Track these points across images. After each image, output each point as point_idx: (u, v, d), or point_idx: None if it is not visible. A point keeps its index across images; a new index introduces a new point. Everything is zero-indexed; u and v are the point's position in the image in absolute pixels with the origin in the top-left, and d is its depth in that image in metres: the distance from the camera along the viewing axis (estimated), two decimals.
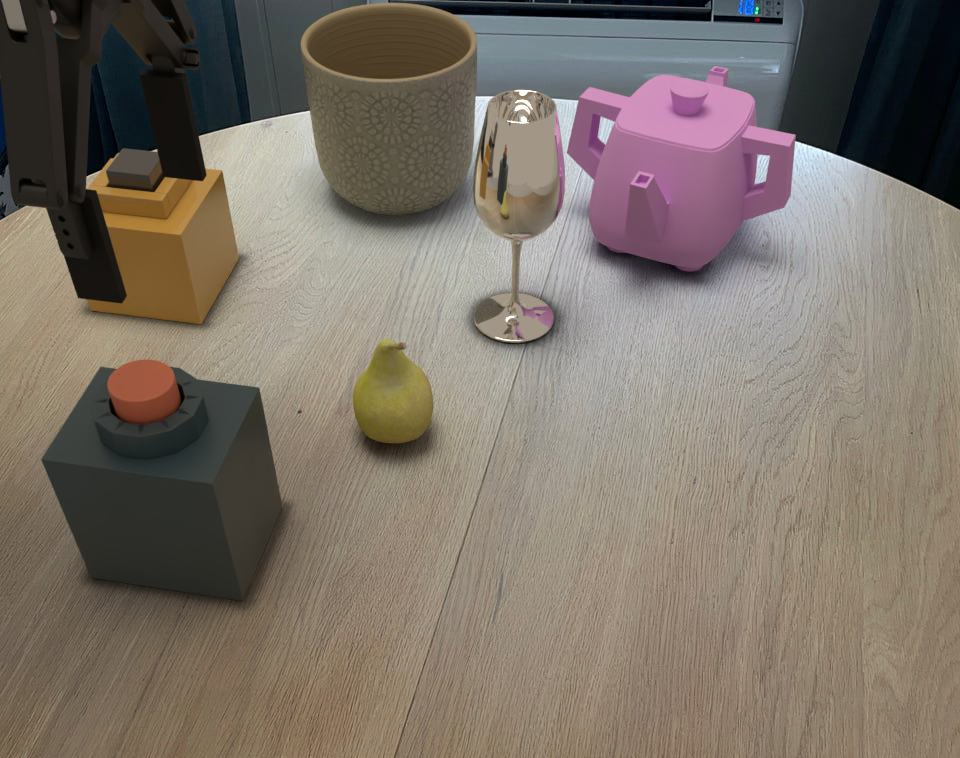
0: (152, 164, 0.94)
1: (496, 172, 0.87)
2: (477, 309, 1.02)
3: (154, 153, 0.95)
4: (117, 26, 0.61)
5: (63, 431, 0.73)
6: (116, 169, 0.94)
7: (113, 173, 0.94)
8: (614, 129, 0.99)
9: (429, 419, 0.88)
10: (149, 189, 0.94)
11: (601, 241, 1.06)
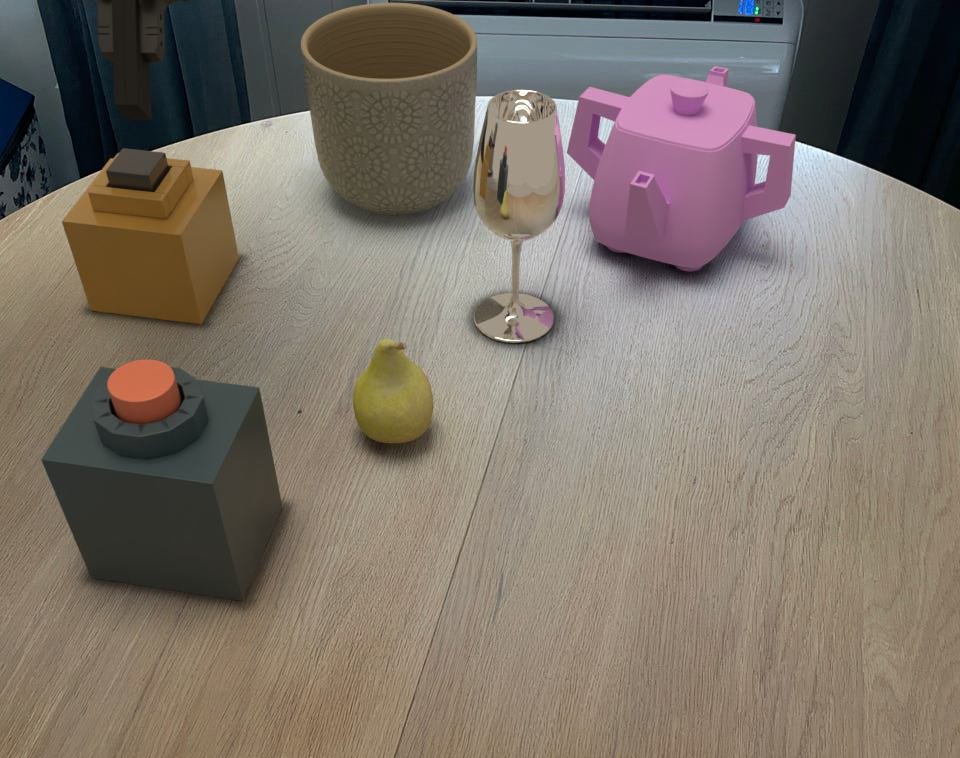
0: (152, 164, 0.94)
1: (496, 172, 0.87)
2: (477, 309, 1.02)
3: (154, 153, 0.95)
4: None
5: (63, 431, 0.73)
6: (116, 169, 0.94)
7: (113, 173, 0.94)
8: (614, 129, 0.99)
9: (429, 419, 0.88)
10: (149, 189, 0.94)
11: (601, 241, 1.06)
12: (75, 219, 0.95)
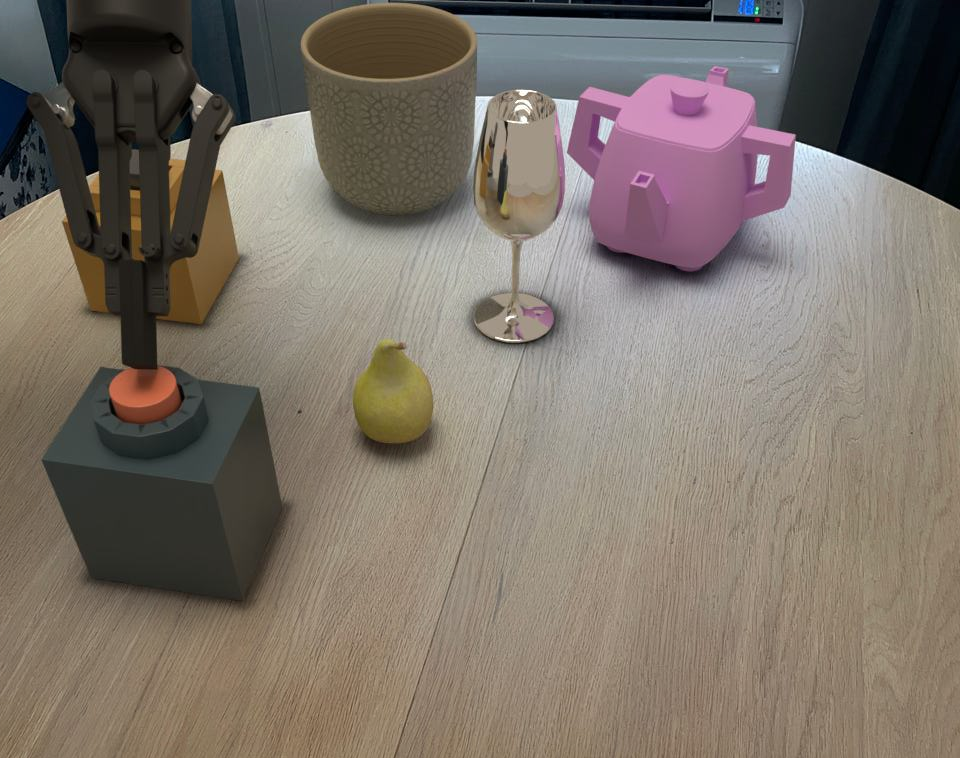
0: None
1: (496, 172, 0.87)
2: (477, 309, 1.02)
3: None
4: (119, 180, 0.68)
5: (63, 431, 0.73)
6: None
7: None
8: (614, 129, 0.99)
9: (429, 419, 0.88)
10: None
11: (601, 241, 1.06)
12: None
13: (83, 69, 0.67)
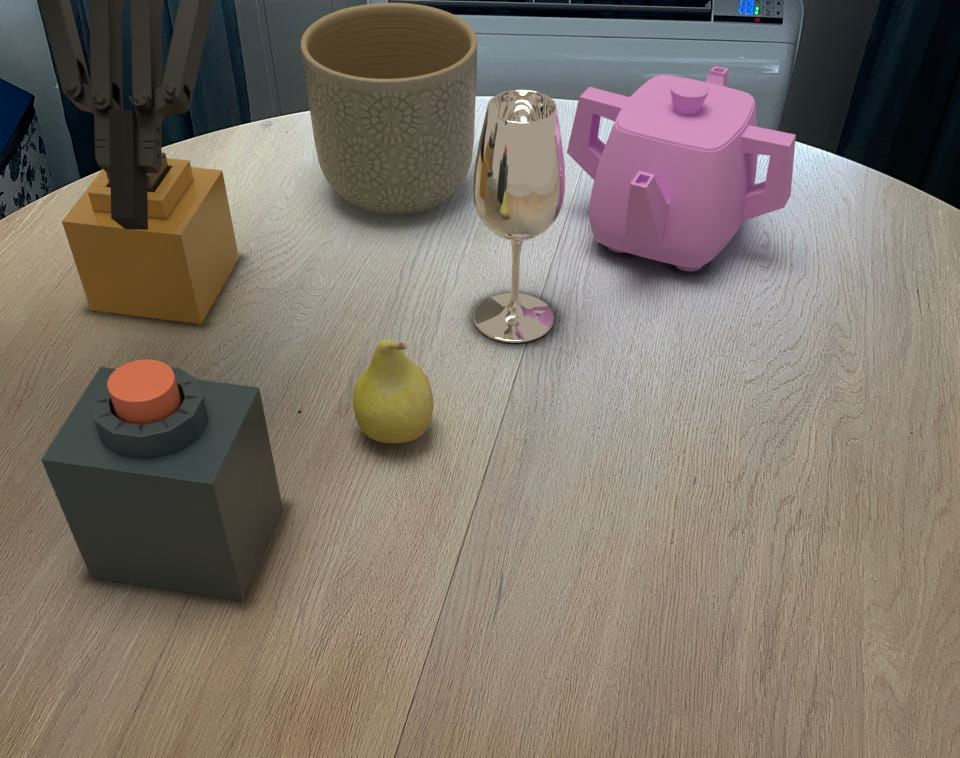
0: None
1: (496, 172, 0.87)
2: (477, 309, 1.02)
3: None
4: (109, 27, 0.67)
5: (63, 431, 0.73)
6: None
7: None
8: (614, 129, 0.99)
9: (429, 419, 0.88)
10: (149, 189, 0.94)
11: (601, 241, 1.06)
12: (75, 219, 0.95)
13: None
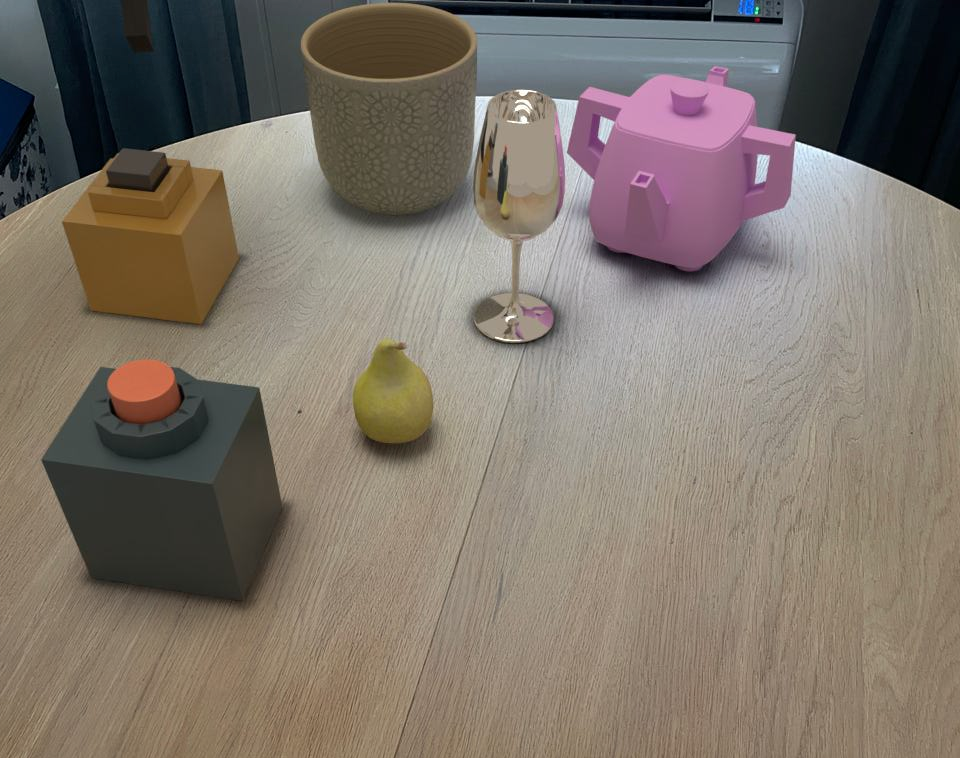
0: (152, 164, 0.94)
1: (496, 172, 0.87)
2: (477, 309, 1.02)
3: (154, 153, 0.95)
4: None
5: (63, 431, 0.73)
6: (116, 169, 0.94)
7: (113, 173, 0.94)
8: (614, 129, 0.99)
9: (429, 419, 0.88)
10: (149, 189, 0.94)
11: (601, 241, 1.06)
12: (75, 219, 0.95)
13: None
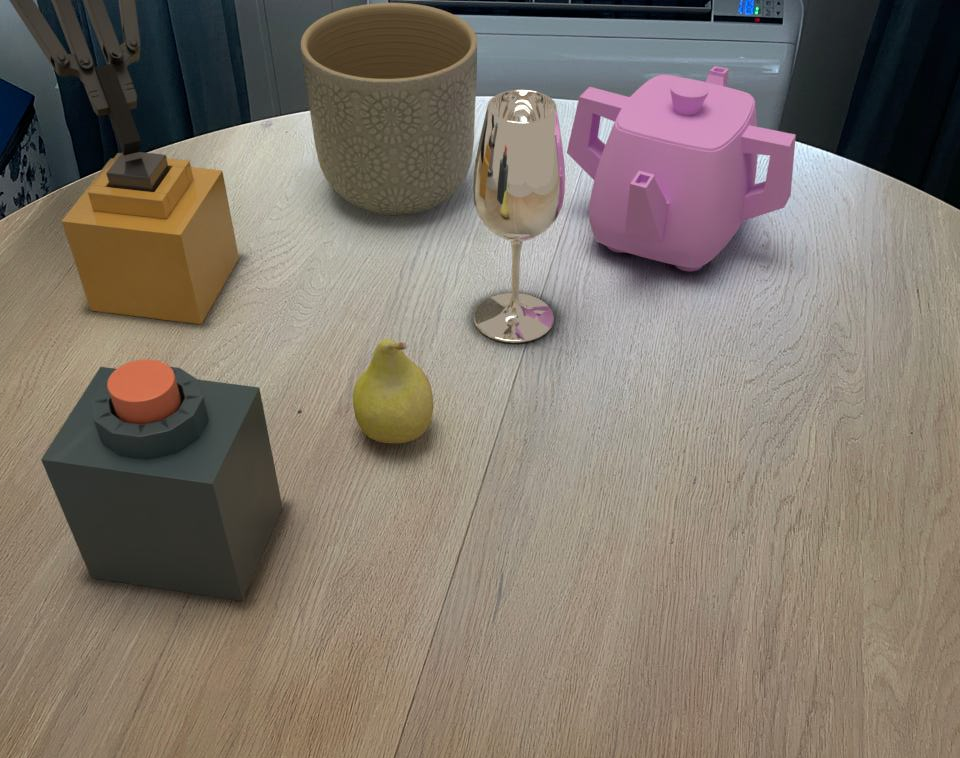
0: (152, 166, 0.94)
1: (496, 172, 0.87)
2: (477, 309, 1.02)
3: (154, 156, 0.96)
4: None
5: (63, 431, 0.73)
6: (117, 171, 0.94)
7: (114, 175, 0.94)
8: (614, 129, 0.99)
9: (429, 419, 0.88)
10: (150, 191, 0.94)
11: (601, 241, 1.06)
12: (75, 219, 0.95)
13: None
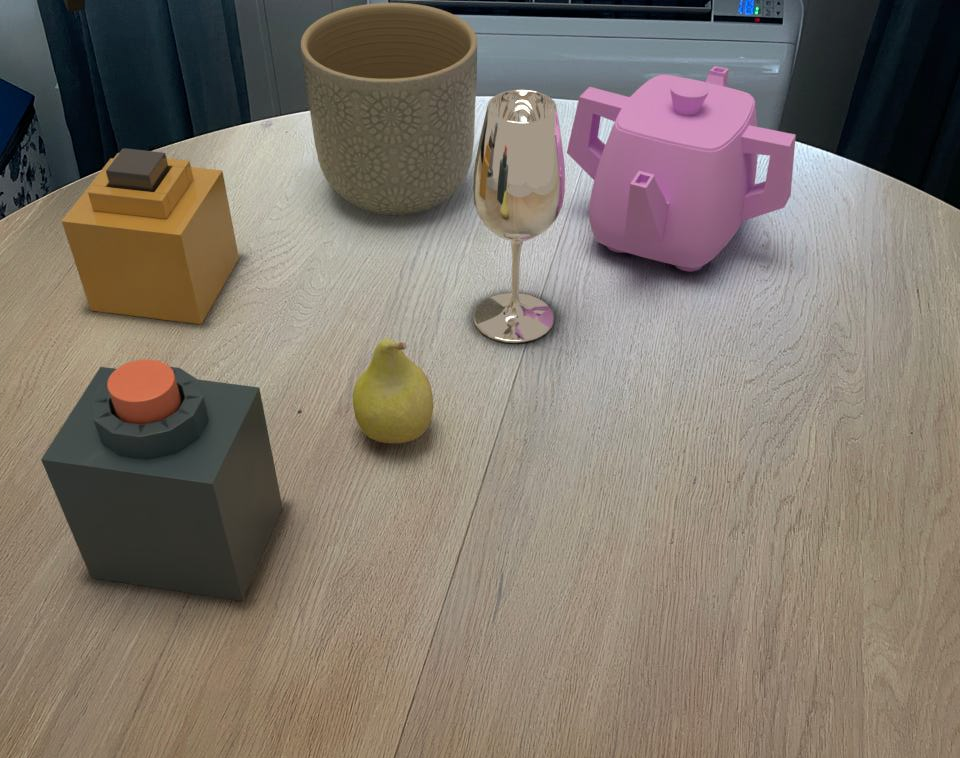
0: (152, 164, 0.94)
1: (496, 172, 0.87)
2: (477, 309, 1.02)
3: (154, 153, 0.95)
4: None
5: (63, 431, 0.73)
6: (116, 169, 0.94)
7: (113, 173, 0.94)
8: (614, 129, 0.99)
9: (429, 419, 0.88)
10: (149, 189, 0.94)
11: (601, 241, 1.06)
12: (75, 219, 0.95)
13: None
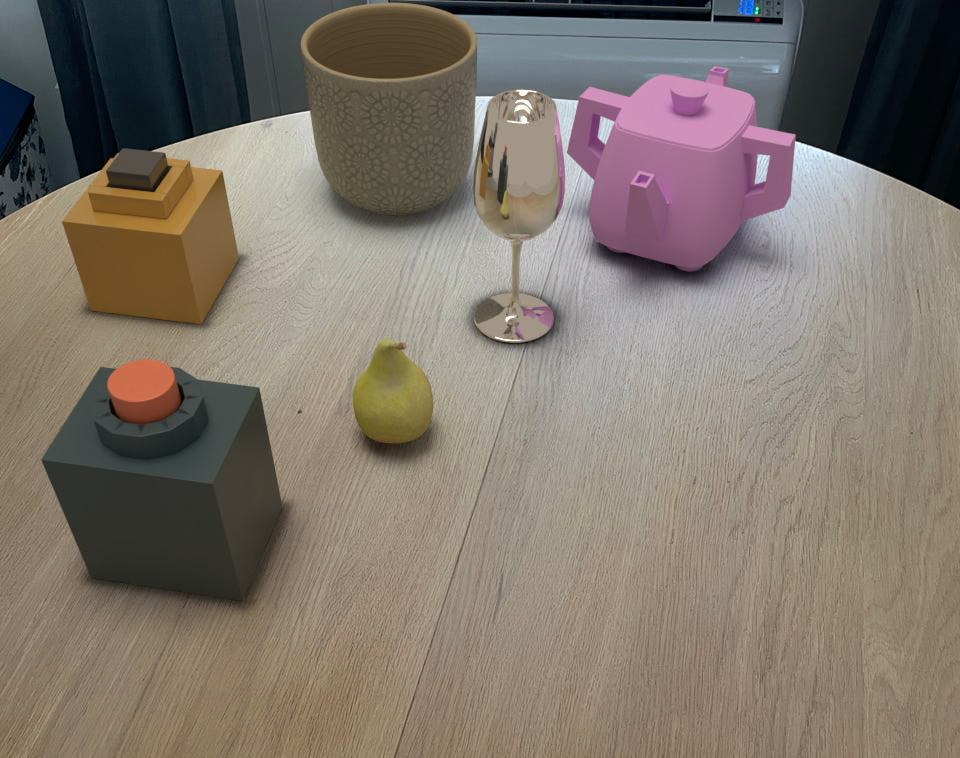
0: (152, 164, 0.94)
1: (496, 172, 0.87)
2: (477, 309, 1.02)
3: (154, 153, 0.95)
4: None
5: (63, 431, 0.73)
6: (116, 169, 0.94)
7: (113, 173, 0.94)
8: (614, 129, 0.99)
9: (429, 419, 0.88)
10: (149, 189, 0.94)
11: (601, 241, 1.06)
12: (75, 219, 0.95)
13: None
